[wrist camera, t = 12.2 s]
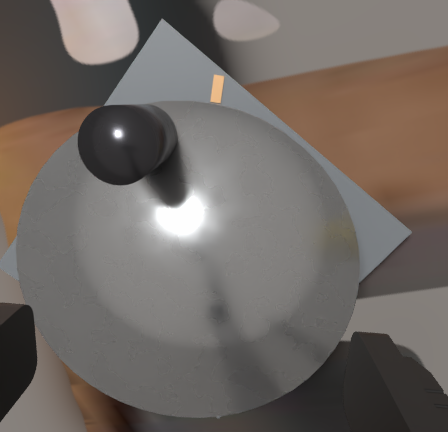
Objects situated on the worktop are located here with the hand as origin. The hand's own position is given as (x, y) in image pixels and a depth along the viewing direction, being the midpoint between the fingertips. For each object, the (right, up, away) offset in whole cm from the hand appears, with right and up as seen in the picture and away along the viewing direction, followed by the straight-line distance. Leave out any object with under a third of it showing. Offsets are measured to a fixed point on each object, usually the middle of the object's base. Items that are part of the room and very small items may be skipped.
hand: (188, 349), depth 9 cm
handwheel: (-2, -1, +20) cm, 20 cm away
